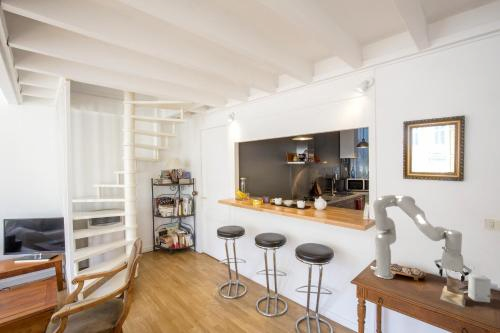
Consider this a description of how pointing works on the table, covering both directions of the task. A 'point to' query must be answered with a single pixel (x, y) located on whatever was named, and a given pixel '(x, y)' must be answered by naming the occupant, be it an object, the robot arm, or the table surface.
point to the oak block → (453, 296)
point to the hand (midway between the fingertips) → (451, 278)
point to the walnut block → (452, 285)
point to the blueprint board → (455, 303)
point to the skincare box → (479, 288)
